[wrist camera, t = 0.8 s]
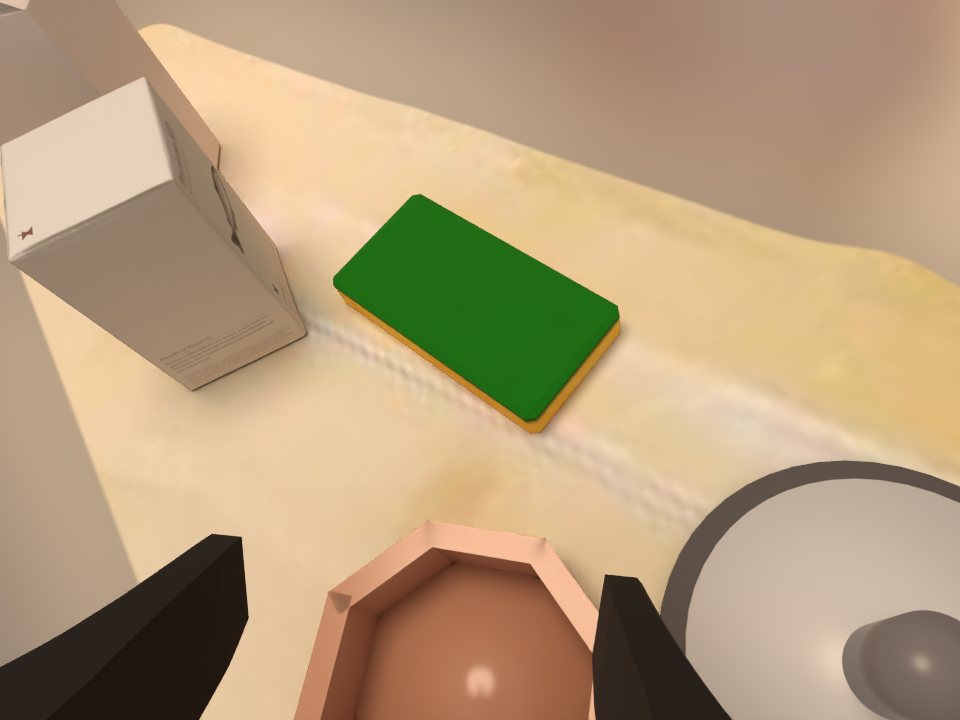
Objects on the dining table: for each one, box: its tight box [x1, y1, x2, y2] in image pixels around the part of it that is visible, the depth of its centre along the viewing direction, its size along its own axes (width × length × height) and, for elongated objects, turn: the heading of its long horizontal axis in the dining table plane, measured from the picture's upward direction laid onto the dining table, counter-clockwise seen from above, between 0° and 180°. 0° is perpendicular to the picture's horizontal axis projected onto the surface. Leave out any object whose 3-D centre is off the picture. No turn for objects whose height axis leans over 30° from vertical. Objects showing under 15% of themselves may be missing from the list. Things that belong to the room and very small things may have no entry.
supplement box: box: [0, 77, 306, 390], centre depth 33 cm, size 7×7×13 cm
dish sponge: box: [333, 194, 620, 434], centre depth 35 cm, size 7×14×2 cm, turn 50°
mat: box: [660, 461, 960, 654], centre depth 25 cm, size 16×16×1 cm
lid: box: [685, 479, 960, 720], centre depth 22 cm, size 14×14×5 cm
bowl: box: [294, 520, 599, 720], centre depth 25 cm, size 12×12×4 cm
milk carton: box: [0, 0, 219, 168], centre depth 36 cm, size 7×7×19 cm
